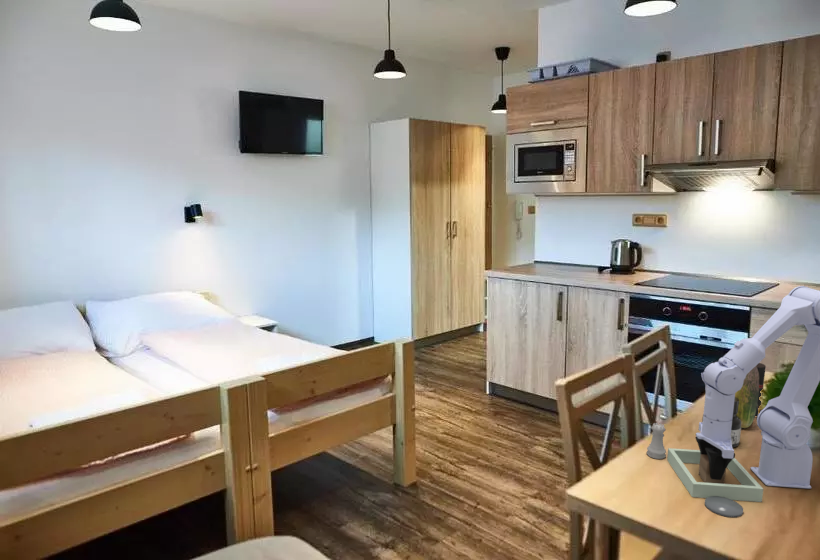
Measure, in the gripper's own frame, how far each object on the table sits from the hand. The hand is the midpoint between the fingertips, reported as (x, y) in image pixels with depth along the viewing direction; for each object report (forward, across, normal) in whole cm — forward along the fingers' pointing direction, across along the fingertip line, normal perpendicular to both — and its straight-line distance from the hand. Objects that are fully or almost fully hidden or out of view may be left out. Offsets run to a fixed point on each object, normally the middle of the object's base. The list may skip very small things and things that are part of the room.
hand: (711, 473), depth 131 cm
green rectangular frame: (+1, 0, 0) cm, 1 cm away
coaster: (+1, +12, -2) cm, 12 cm away
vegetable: (+2, -32, +20) cm, 38 cm away
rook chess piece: (+2, -10, -9) cm, 14 cm away
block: (+1, 0, 0) cm, 1 cm away
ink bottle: (+2, -22, +10) cm, 24 cm away
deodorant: (+2, -42, +26) cm, 50 cm away
